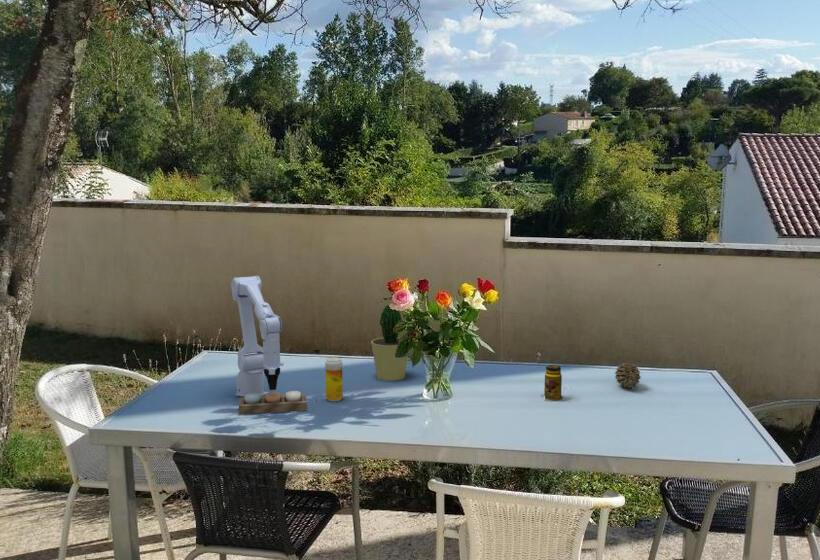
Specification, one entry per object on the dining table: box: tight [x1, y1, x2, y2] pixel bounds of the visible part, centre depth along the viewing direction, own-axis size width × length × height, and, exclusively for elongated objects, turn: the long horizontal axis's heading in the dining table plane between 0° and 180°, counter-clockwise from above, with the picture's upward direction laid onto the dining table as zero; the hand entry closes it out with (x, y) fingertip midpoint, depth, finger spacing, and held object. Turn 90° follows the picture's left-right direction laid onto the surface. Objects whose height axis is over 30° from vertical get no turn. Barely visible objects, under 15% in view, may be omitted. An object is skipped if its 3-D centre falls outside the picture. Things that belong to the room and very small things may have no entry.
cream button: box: [285, 390, 302, 402], centre depth 267 cm, size 5×5×3 cm
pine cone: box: [614, 362, 642, 389], centre depth 292 cm, size 22×10×10 cm, turn 174°
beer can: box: [324, 357, 344, 403], centre depth 275 cm, size 6×6×15 cm
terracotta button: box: [264, 391, 281, 403], centre depth 265 cm, size 5×5×3 cm
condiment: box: [540, 364, 565, 402], centre depth 276 cm, size 7×8×12 cm
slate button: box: [245, 393, 260, 404], centre depth 264 cm, size 5×5×3 cm
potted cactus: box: [370, 304, 409, 382], centre depth 303 cm, size 15×15×30 cm
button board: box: [238, 393, 308, 416], centre depth 266 cm, size 23×10×3 cm, turn 100°
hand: (272, 389), depth 265 cm, fingers closed
